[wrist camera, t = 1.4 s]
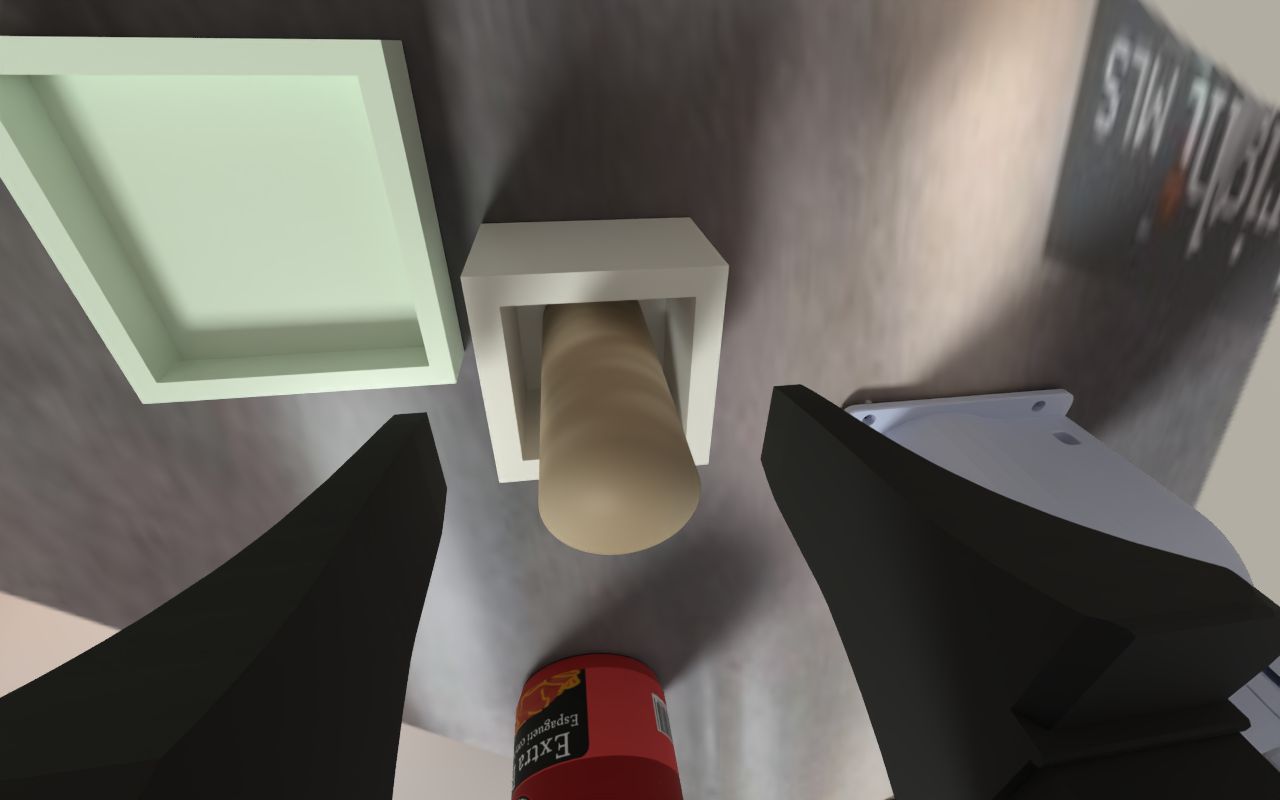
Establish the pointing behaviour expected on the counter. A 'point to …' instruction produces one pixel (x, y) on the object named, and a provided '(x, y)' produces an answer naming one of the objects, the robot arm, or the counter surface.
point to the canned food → (594, 733)
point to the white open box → (591, 272)
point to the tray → (234, 209)
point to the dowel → (609, 433)
